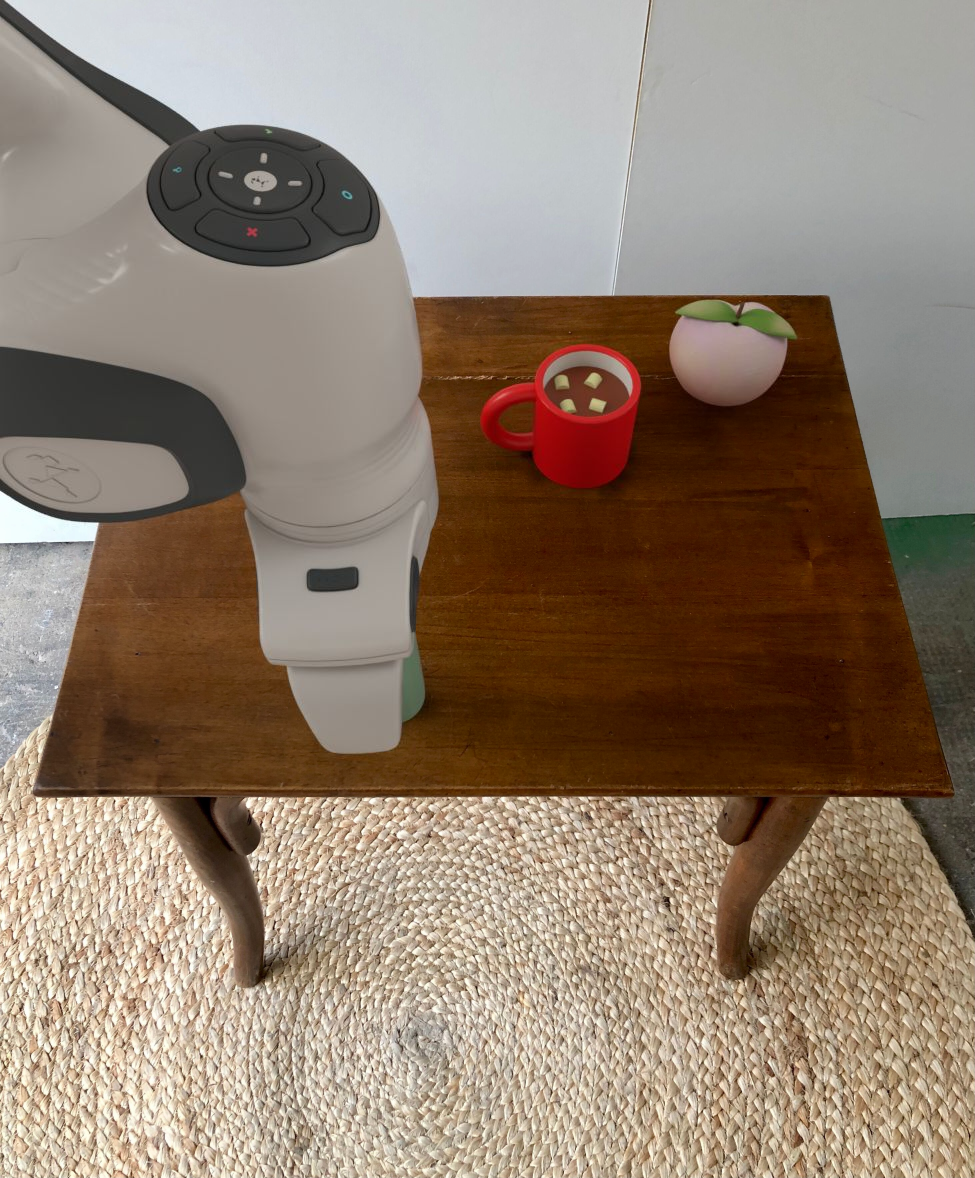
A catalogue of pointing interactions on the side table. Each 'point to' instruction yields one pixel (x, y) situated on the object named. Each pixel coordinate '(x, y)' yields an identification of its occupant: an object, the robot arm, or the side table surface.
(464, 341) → the side table surface
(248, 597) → the side table surface
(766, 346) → the decorative fruit
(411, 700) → the bottle
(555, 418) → the mug
